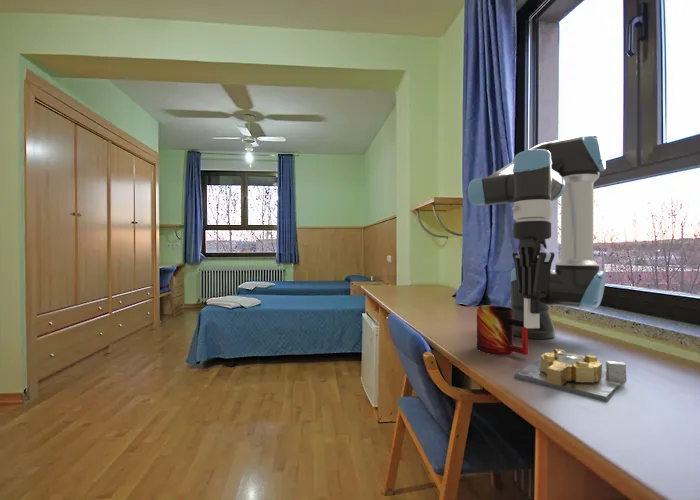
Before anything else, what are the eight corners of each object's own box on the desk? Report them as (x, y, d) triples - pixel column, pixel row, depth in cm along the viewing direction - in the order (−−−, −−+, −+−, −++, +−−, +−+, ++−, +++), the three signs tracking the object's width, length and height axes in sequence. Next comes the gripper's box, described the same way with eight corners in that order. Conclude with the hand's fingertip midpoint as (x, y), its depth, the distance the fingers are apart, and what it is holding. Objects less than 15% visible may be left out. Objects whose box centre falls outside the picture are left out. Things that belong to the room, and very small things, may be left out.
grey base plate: (543, 361, 90) (543, 342, 90) (630, 380, 76) (630, 357, 76) (514, 377, 78) (514, 355, 78) (611, 403, 65) (611, 376, 65)
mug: (527, 359, 91) (527, 314, 91) (473, 351, 99) (473, 309, 99) (531, 350, 99) (531, 308, 99) (481, 343, 107) (481, 304, 107)
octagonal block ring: (551, 361, 85) (551, 346, 85) (606, 373, 77) (606, 356, 77) (525, 377, 75) (525, 359, 75) (585, 392, 67) (585, 372, 67)
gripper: (501, 223, 84) (501, 321, 84) (531, 218, 71) (531, 334, 71) (532, 223, 84) (532, 321, 84) (567, 218, 71) (567, 334, 71)
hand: (531, 327), depth 77 cm, fingers closed
